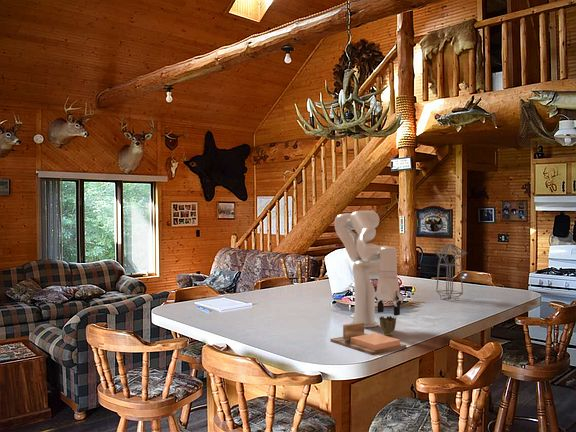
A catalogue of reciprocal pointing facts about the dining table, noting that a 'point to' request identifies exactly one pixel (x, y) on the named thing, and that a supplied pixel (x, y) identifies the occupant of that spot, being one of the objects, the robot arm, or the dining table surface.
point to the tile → (375, 341)
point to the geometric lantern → (450, 268)
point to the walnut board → (342, 342)
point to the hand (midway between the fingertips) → (388, 313)
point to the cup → (387, 325)
